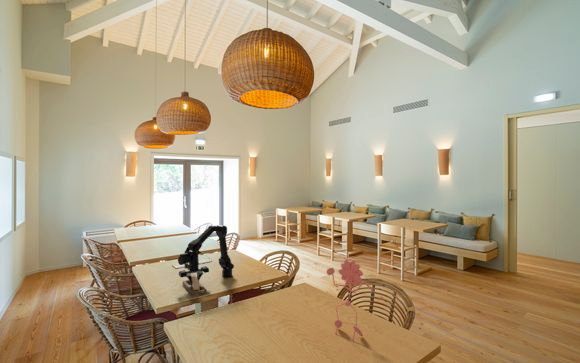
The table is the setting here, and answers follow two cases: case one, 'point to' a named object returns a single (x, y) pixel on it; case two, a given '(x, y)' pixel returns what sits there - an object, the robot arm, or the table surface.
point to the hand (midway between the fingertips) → (194, 284)
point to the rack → (192, 292)
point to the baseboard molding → (188, 263)
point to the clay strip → (195, 282)
